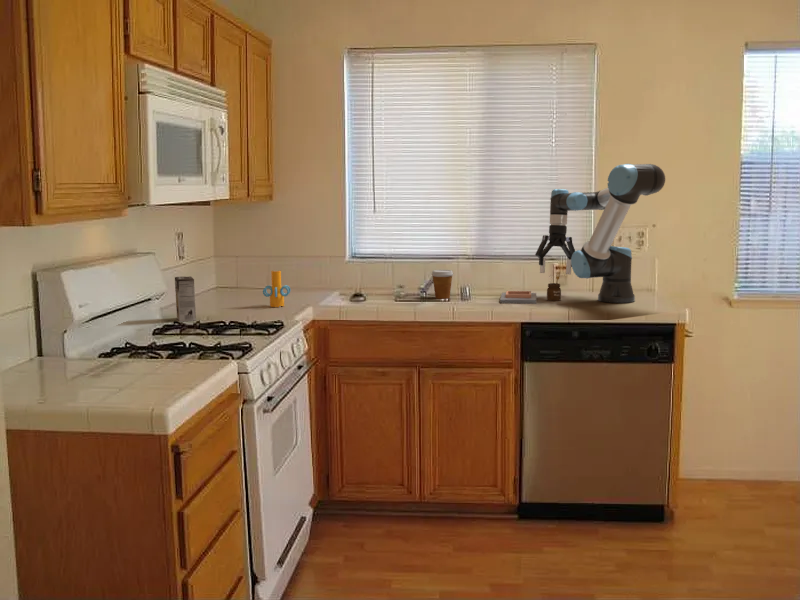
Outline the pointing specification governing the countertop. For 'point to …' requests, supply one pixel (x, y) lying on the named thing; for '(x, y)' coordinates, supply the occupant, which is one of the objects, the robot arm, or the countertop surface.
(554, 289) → the utensil holder
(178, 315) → the coffee box
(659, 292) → the countertop surface
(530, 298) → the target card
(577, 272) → the robot arm
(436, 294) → the disposable coffee cup
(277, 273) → the cylinder
